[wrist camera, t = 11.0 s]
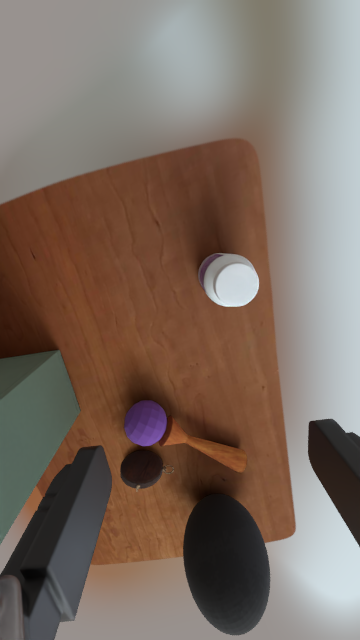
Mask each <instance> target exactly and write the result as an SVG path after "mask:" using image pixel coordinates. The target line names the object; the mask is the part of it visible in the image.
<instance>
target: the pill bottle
mask: <svg viewBox="0 0 360 640" xmlns="http://www.w3.org/2000/svg"><path fill="white" fill-rule="evenodd" d="M198 276H199V282H200V284H201V286H202V288H203V289H204V290H205V292H206V293H207V295H208V297H209V298H210V299H211V300H212V301H214V302H215V303H217V304H219V305H222V306H227V307H231V306H234V307H238V306H242V305H245V304H247V303H248V302H250V301H251V300H252V299H253V298H254V297H255V295H256V293H257V291H258V287H259V279H258V275H257V273H256V272H255V269H254V267H253V265H252V264H251V263H250V262H249V261H248V260H247V259H246V258H244V257H242V256H240V255H237V254H226V253H216V254H213V255H210V256H209V257H207V258H206V259H205V260H204V261H203V262H202V264H201V266H200V268H199V273H198Z"/></svg>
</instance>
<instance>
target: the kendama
mask: <svg viewBox="0 0 360 640" xmlns="http://www.w3.org/2000/svg"><path fill="white" fill-rule="evenodd" d="M124 428H125V431H126V434H127V437H128V438H129V439H130V440H131V441H132V442H133V443H136V444H138V445H141V446H150V445H152V444H154V443H156V442H157V441H159V445H160V446H165V445H172V444H179V443H186V444H188V445H190V446H192V447H193V448H195V449H197V450H199V451H201V452H202V453H204V454H206V455H208V456H209V457H211V458H213V459H215V460H216V461H218V462H220V463H222V464H223V465H225V466H227V467H229V468H231V469H232V470H234V471H236V472H238V473H240V472H243V470H244V469H245V467H246V464H247V455H246V453H245V451H244V450H241V449H238V448H234V447H230V446H226V445H223V444H219V443H215V442H212V441H208V440H204V439H200V438H197V437H193V436H189V435H187V434H186V433H185V432H184V431H183V429H182V428H181V427H180V426H179V425H178V423H177V422H176V421H175V420H174V419H173V417H172V416H169V417H166V414H165V411H164V410H163V408H162V407H161V406H160V405H159V404H158V403H156V402H154V401H151V400H148V401H140V402H138V403H136V404H134V405H133V406H132V407H131V408H130V409H129V411H128V412H127V414H126V416H125V424H124Z"/></svg>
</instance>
